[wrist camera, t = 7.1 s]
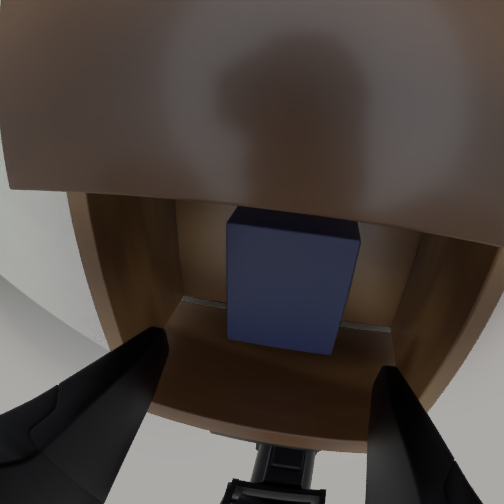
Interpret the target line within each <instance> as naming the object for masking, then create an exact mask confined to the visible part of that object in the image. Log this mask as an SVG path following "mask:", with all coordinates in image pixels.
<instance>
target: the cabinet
mask: <svg viewBox="0 0 504 504" xmlns="http://www.w3.org/2000/svg"><path fill="white" fill-rule="evenodd" d="M0 130H1V139H2V146H3V153H4V160H5V166H6V171H7V177H8V182H9V187H10V189H13V190H42V191H64V192H82V193H98V194H113V195H127V196H140V197H153V198H164V199H175V200H186V201H197V202H207V203H216V204H226V205H235V206H244V207H252V208H261V209H269V210H277V211H285V212H293V213H301V214H308V215H315V216H323V217H330V218H337V219H344V220H350V221H357V222H364V223H370V224H376V225H383V226H389V227H395V228H401V229H407V230H413V231H419V232H424V233H430V234H435V235H441V236H446V237H452V238H457V239H462V240H467V241H473V242H478V243H483V244H487V245H492V246H497V247H502V248H504V0H1V5H0Z"/></svg>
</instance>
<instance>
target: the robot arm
mask: <svg viewBox="0 0 504 504" xmlns="http://www.w3.org/2000/svg"><path fill="white" fill-rule="evenodd" d="M168 355H169V344H168V339H167V334H166V331H165V329H163V328H160V327H156V326H151V327H149V328H147V329H146V330H144V331H142V332H141V333H139V334H138V335H136V336H134V337H133V338H131V339H130V340H128V341H126V342H125V343H123V344H122V345H120V346H119V347H117V348H115V349H114V350H112V351H111V352H109V353H107V354H106V355H104V356H103V357H101V358H100V359H98V360H96V361H95V362H93V363H91V364H90V365H88V366H87V367H85V368H83V369H82V370H80V371H79V372H77V373H76V374H74V375H72V376H71V377H69V378H68V379H66V380H64V381H63V382H61V383H60V384H59V385H56V386H54V387H53V388H51V389H50V390H48V391H46V392H45V393H43V394H41V395H39V396H38V397H36V398H34V399H32V400H30V401H28V402H26V403H24V404H22V405H20V406H18V407H16V408H14V409H12V410H10V411H8V412H5V413H4V414H1V415H0V504H104V503H105V500H106V498H107V496H108V493H109V492H110V489H111V487H112V485H113V483H114V481H115V478H116V476H117V474H118V472H119V470H120V468H121V465H122V463H123V461H124V459H125V457H126V454H127V452H128V450H129V448H130V446H131V444H132V442H133V440H134V437H135V436H136V433H137V431H138V429H139V427H140V425H141V423H142V421H143V419H144V417H145V414H146V413H147V410H148V408H149V406H150V404H151V402H152V400H153V398H154V395H155V392H156V389H157V386H158V384H159V381H160V378H161V375H162V372H163V369H164V366H165V363H166V360H167V358H168ZM256 450H258V453H257V458H256V461H255V466H254V469H253V473H252V478H251V481H250V482H246V481H241V480H239V479H233V480H232V482H230V483H228V485H227V489H226V492H225V495H224V497H223V499H222V501H221V503H220V504H325V496H326V490H324V489H320V490H312V489H310V486H311V480H312V473H313V466H314V459H315V455H316V453H317V452H318V450H316V451H315V452H313V451H305V450H297V449H290V448H283V447H276V446H270V445H264V444H259V443H257V444H256ZM366 479H367V480H366V500H365V504H483V503H482V502H481V500H480V499H479V497H478V496H477V495H476V493H475V492H474V490H473V489H472V487H471V486H470V484H469V483H468V481H467V479H466V478H465V476H464V474H463V473H462V471H461V469H460V468H459V466H458V464H457V462H456V461H454V457H453V456H452V454H451V452H450V450H449V449H448V447H447V445H446V444H445V442H444V440H443V439H442V437H441V435H440V434H439V432H438V430H437V429H436V427H435V426H434V424H433V422H432V421H431V419H430V417H429V416H428V414H427V412H426V411H425V409H424V408H423V406H422V404H421V403H420V401H419V400H418V398H417V396H416V395H415V393H414V392H413V390H412V389H411V387H410V386H409V384H408V382H407V381H406V379H405V378H404V376H403V375H402V373H401V372H400V370H399V369H398V367H396V366H391V365H383V366H382V367H381V369H380V371H379V373H378V375H377V377H376V379H375V381H374V383H373V386H372V395H371V406H370V416H369V425H368V435H367V478H366Z"/></svg>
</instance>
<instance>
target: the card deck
mask: <svg viewBox="0 0 504 504" xmlns="http://www.w3.org/2000/svg"><path fill="white" fill-rule="evenodd" d="M360 245H361V238H360V232H359V227H358V222H357V221H350V220H344V219H337V218H330V217H323V216H315V215H308V214H301V213H293V212H285V211H277V210H269V209H261V208H252V207H244V206H237V208H236V209H235V210H234V212H233V213H232V215H231V216H230V218H229V219H228V221H227V222H226V287H227V338H228V339H232V340H238V341H243V342H248V343H254V344H260V345H265V346H271V347H278V348H284V349H290V350H297V351H304V352H311V353H318V354H326V355H331V354H332V350H333V347H334V344H335V341H336V337H337V334H338V331H339V327H340V324H341V320H342V317H343V313H344V309H345V306H346V302H347V298H348V294H349V291H350V287H351V283H352V279H353V275H354V271H355V267H356V262H357V258H358V254H359V249H360Z"/></svg>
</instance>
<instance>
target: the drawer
mask: <svg viewBox="0 0 504 504" xmlns="http://www.w3.org/2000/svg"><path fill="white" fill-rule="evenodd" d="M67 198H68V203H69V208H70V213H71V218H72V223H73V227H74V232H75V236H76V241H77V245H78V249H79V253H80V257H81V261H82V264H83V268H84V272H85V275H86V279H87V282H88V286H89V289H90V292H91V296H92V299H93V302H94V305H95V308H96V311H97V314H98V317H99V320H100V323H101V326H102V329H103V332H104V334H105V337H106V340H107V343H108V345H109V348H110V351H112V350H114V349H115V348H117V347H119V346H120V345H122V344H123V343H125V342H126V341H128V340H130V339H131V338H133V337H134V336H136V335H138V334H139V333H141V332H142V331H144V330H146V329H147V328H149V327H151V326H156V327H160V328H163V329H165V331H166V334H167V339H168V344H169V355H168V358H167V360H166V363H165V366H164V369H163V372H162V375H161V378H160V381H159V384H158V386H157V389H156V392H155V395H154V398H153V400H152V402H151V404H150V406H149V408H148V410H147V412H148V413H151V414H154V415H158V416H161V417H163V418H167V419H170V420H173V421H176V422H180V423H184V424H187V425H191V426H195V427H198V428H202V429H205V430H209V431H210V432H211V433H212V434H217V435H221V436H225V437H229V438H234V439H239V440H244V441H248V442H254V443H259V444H264V445H270V446H276V447H283V448H290V449H297V450H305V451H313V452H315V451H316V450H326V451H338V452H352V453H367V435H368V425H369V416H370V406H371V395H372V386H373V383H374V381H375V379H376V377H377V375H378V373H379V371H380V369H381V367H382V366H383V365H391V366H396V367H398V369H399V370H400V372H401V373H402V375H403V376H404V378H405V379H406V381H407V382H408V384H409V386H410V387H411V389H412V390H413V392H414V393H415V395H416V396H417V398H418V400H419V401H420V403H421V404H422V406H423V408H424V409H425V411H426V412H428V411H429V409H430V408H431V407H432V406H433V405H434V403H435V402H436V401H437V399H438V398H439V397H440V395H441V394H442V393H443V391H444V390H445V388H446V387H447V386H448V384H449V383H450V381H451V380H452V378H453V377H454V376H455V374H456V373H457V371H458V370H459V368H460V367H461V365H462V364H463V362H464V361H465V359H466V358H467V356H468V354H469V353H470V351H471V350H472V348H473V346H474V345H475V343H476V341H477V340H478V338H479V336H480V334H481V333H482V331H483V329H484V328H485V326H486V324H487V322H488V320H489V318H490V317H491V315H492V313H493V311H494V309H495V307H496V305H497V303H498V301H499V299H500V297H501V295H502V293H503V291H504V248H502V247H497V246H492V245H487V244H483V243H478V242H473V241H467V240H462V239H457V238H452V237H446V236H441V235H435V234H430V233H424V232H419V231H413V230H407V229H401V228H395V227H389V226H383V225H376V224H370V223H364V222H358V227H359V232H360V238H361V245H360V249H359V254H358V258H357V262H356V267H355V271H354V275H353V279H352V283H351V287H350V291H349V294H348V298H347V302H346V306H345V309H344V313H343V317H342V320H341V321H346V322H354V323H362V324H371V325H379V326H388V327H390V328H391V333H388V332H379V331H370V330H361V329H353V328H345V327H339V331H338V334H337V337H336V341H335V344H334V347H333V350H332V354H331V355H326V354H318V353H311V352H304V351H297V350H290V349H284V348H278V347H271V346H265V345H260V344H254V343H248V342H243V341H238V340H232V339H228V338H227V309H222V308H217V307H211V306H206V305H201V304H196V303H191V302H186V301H181V299H182V298H183V295H185V296H190V297H195V298H201V299H206V300H211V301H217V302H222V303H227V287H226V222H227V221H228V219H229V218H230V216H231V215H232V213H233V212H234V210H235V209H236V208H237V206H235V205H226V204H216V203H207V202H197V201H186V200H175V199H164V198H153V197H140V196H127V195H113V194H98V193H82V192H67Z"/></svg>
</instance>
